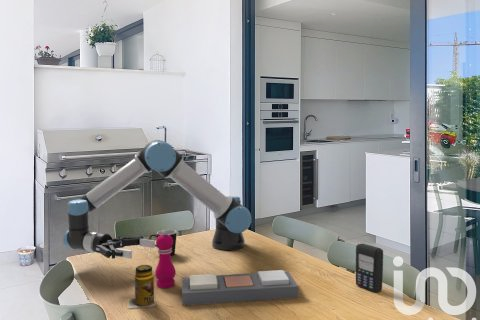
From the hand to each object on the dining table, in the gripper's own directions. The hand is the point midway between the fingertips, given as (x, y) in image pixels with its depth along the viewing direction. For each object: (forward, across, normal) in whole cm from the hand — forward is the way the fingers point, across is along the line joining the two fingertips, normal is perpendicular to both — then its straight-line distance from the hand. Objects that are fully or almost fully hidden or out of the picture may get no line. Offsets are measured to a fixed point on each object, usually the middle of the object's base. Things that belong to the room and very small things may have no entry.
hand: (143, 249), depth 158 cm
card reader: (+76, -25, -12) cm, 81 cm away
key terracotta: (+36, -4, -11) cm, 38 cm away
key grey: (+47, -10, -9) cm, 49 cm away
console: (+36, -4, -12) cm, 39 cm away
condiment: (+11, +16, -12) cm, 23 cm away
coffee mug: (-11, -30, -12) cm, 34 cm away
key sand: (+26, +3, -9) cm, 28 cm away
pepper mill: (+10, 0, -12) cm, 16 cm away
